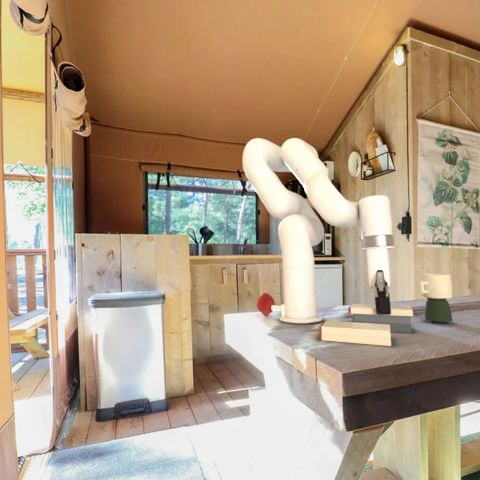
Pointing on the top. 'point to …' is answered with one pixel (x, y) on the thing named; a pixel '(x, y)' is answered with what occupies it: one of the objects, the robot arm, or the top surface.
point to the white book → (371, 309)
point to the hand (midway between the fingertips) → (383, 311)
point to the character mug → (437, 296)
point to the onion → (265, 303)
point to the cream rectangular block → (355, 332)
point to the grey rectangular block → (386, 321)
